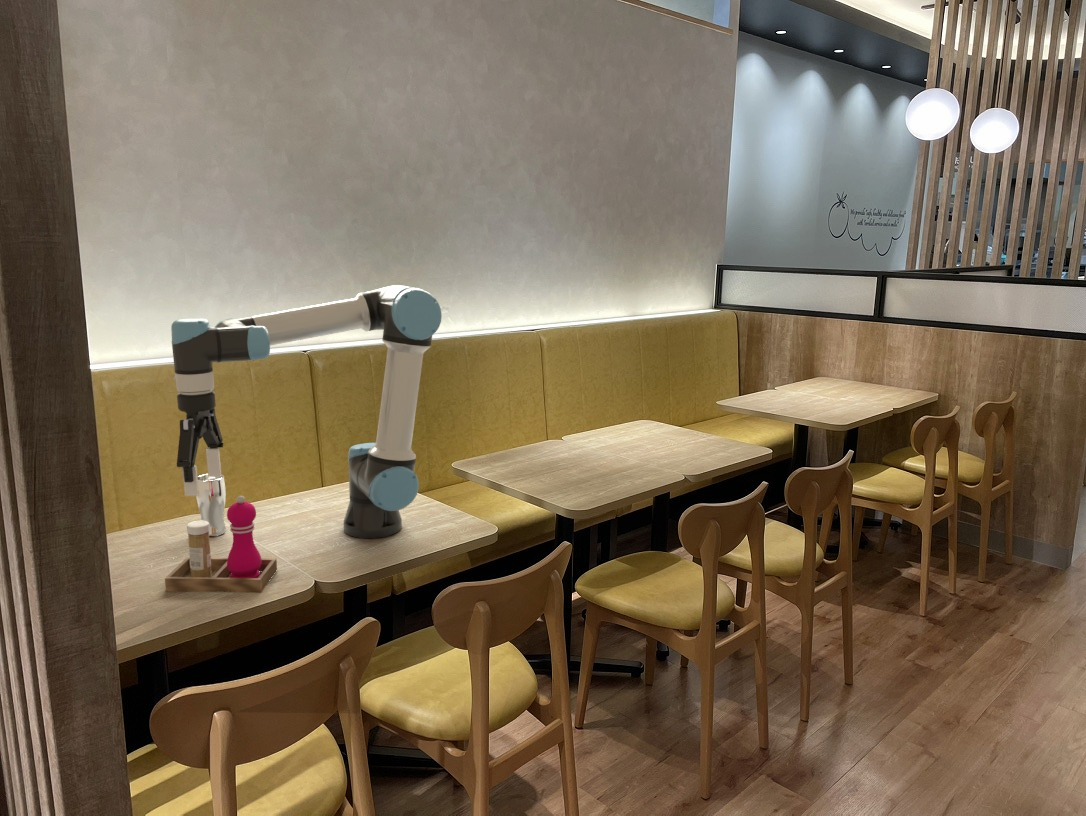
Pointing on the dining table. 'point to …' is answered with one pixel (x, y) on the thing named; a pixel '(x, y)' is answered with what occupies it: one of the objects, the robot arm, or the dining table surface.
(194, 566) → the sprinkles bottle
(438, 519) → the dining table surface
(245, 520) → the pepper mill
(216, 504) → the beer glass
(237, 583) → the caddy
